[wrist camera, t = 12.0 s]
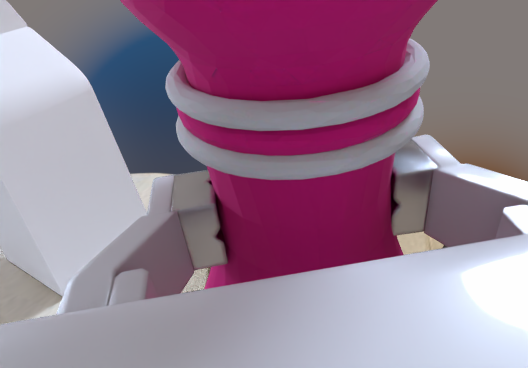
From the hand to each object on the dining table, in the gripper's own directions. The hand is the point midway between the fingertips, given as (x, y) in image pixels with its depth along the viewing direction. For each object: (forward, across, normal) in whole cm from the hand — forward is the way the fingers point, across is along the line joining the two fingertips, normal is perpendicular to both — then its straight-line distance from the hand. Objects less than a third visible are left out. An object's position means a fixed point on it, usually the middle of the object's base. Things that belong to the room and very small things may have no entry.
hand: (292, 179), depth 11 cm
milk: (+29, +21, +24) cm, 43 cm away
